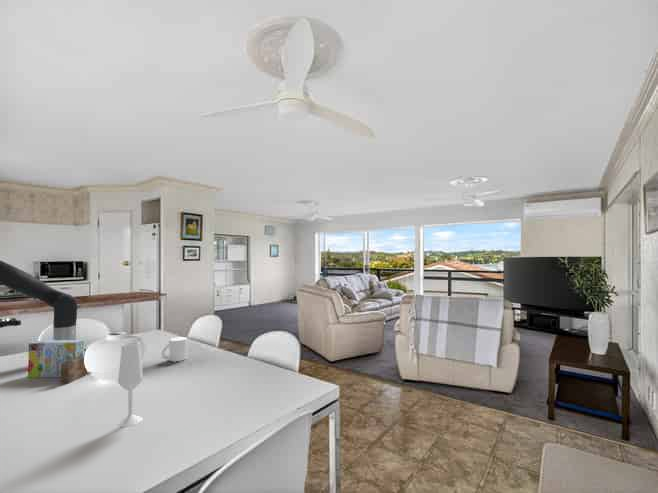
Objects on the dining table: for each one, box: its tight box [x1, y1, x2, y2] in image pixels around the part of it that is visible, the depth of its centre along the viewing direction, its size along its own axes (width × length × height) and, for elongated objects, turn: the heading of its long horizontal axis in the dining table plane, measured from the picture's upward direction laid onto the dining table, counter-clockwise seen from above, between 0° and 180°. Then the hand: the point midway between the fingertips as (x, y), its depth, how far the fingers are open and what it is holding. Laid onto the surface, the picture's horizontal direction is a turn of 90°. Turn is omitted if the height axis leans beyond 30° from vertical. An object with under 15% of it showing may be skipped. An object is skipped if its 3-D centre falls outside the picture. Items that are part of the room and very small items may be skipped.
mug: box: [161, 336, 188, 363], centre depth 171 cm, size 8×10×12 cm
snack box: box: [27, 339, 85, 378], centre depth 151 cm, size 21×6×15 cm, turn 89°
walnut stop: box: [60, 347, 90, 385], centre depth 148 cm, size 15×3×11 cm, turn 179°
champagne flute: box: [117, 341, 144, 428], centre depth 107 cm, size 7×7×24 cm
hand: (19, 322), depth 150 cm, fingers closed
